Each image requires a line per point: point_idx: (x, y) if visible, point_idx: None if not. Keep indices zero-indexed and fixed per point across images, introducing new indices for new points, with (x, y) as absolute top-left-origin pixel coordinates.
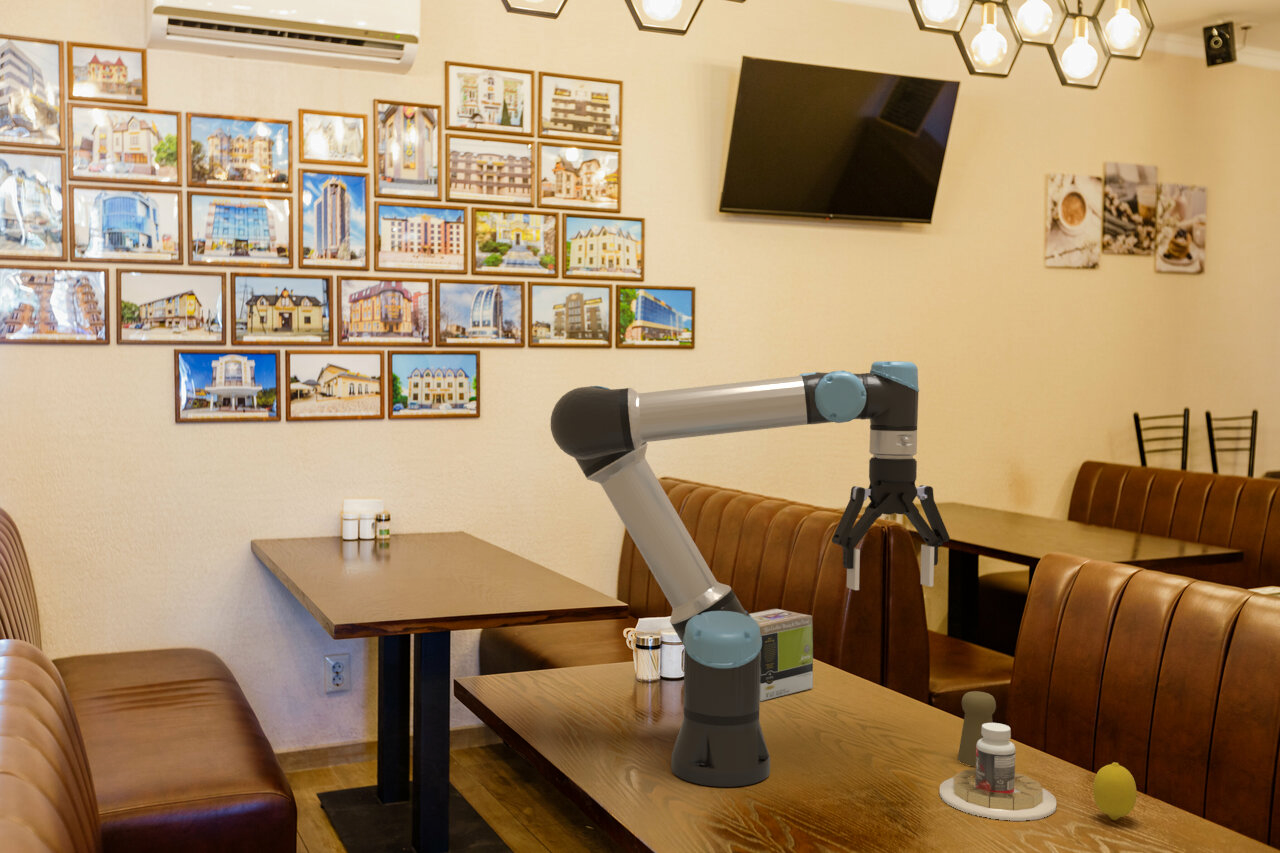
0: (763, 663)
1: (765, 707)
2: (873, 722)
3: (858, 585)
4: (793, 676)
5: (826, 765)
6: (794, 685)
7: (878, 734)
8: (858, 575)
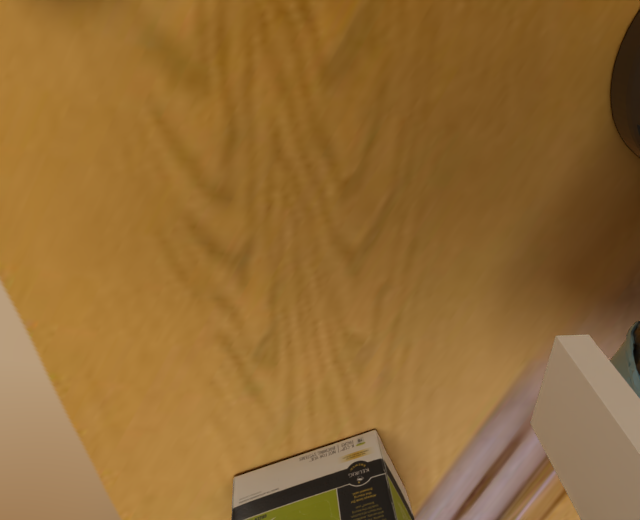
0: (383, 497)
1: (383, 401)
2: (204, 281)
3: (577, 357)
4: (290, 486)
5: (478, 24)
6: (285, 471)
7: (233, 204)
8: (622, 415)
